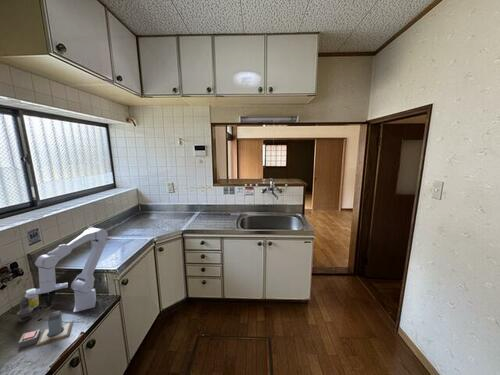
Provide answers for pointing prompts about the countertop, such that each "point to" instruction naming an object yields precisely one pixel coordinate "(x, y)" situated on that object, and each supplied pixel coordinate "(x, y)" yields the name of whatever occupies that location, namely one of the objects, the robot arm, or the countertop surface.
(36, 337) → the button housing
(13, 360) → the countertop surface
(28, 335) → the button
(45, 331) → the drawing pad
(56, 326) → the grey rectangular block
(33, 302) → the supplement bottle
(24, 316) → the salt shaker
